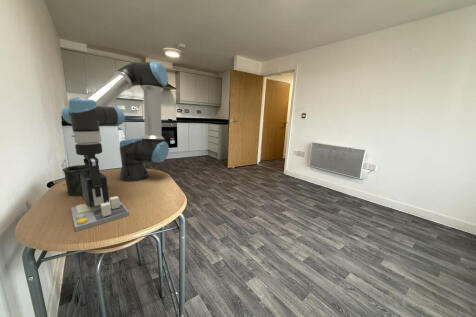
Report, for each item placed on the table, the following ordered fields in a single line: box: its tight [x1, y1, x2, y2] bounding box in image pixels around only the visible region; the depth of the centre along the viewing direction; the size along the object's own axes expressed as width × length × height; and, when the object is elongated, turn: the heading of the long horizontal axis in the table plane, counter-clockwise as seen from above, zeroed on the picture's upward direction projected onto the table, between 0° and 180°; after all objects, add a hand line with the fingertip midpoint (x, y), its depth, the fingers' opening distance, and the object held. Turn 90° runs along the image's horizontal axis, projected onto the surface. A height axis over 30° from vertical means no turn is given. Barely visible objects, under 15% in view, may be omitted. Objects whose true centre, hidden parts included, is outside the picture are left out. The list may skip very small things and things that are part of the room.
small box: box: [80, 172, 110, 207], centre depth 70 cm, size 11×6×10 cm, turn 50°
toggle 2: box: [109, 195, 120, 209], centre depth 69 cm, size 2×2×4 cm
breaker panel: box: [70, 197, 130, 232], centre depth 69 cm, size 15×18×2 cm
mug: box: [62, 164, 86, 197], centre depth 86 cm, size 11×15×12 cm
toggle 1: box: [100, 202, 111, 217], centre depth 64 cm, size 2×2×4 cm
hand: (96, 199), depth 71 cm, fingers closed on small box, 11 cm apart
